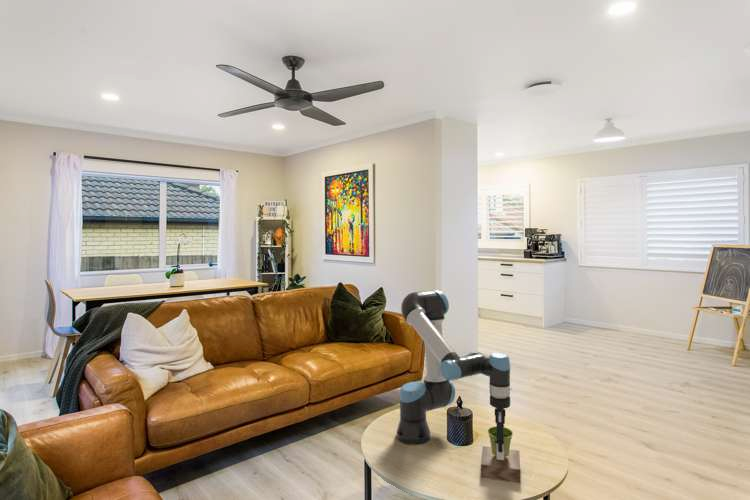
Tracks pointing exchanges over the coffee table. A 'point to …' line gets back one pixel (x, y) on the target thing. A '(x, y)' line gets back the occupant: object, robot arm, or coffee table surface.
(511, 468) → the block
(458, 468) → the coffee table surface
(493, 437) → the plant pot
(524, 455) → the coffee table surface
